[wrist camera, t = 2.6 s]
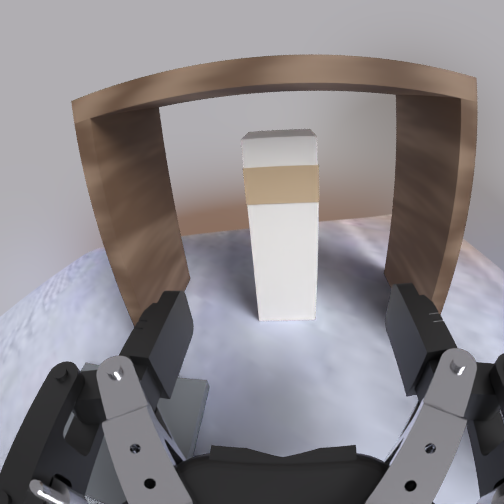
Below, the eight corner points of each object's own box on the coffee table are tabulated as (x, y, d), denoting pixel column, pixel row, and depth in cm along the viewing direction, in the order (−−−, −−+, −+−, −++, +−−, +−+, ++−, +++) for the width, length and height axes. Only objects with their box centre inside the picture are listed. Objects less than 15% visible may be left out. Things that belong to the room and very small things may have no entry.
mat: (39, 470, 10) (31, 465, 10) (90, 369, 19) (85, 362, 19) (176, 526, 9) (171, 524, 9) (209, 386, 18) (206, 380, 17)
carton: (258, 321, 23) (239, 139, 17) (262, 288, 27) (248, 132, 21) (315, 320, 23) (317, 136, 16) (312, 286, 27) (310, 128, 20)
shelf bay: (144, 348, 21) (71, 100, 12) (179, 278, 30) (144, 94, 21) (428, 344, 18) (476, 77, 10) (394, 272, 27) (407, 80, 18)
